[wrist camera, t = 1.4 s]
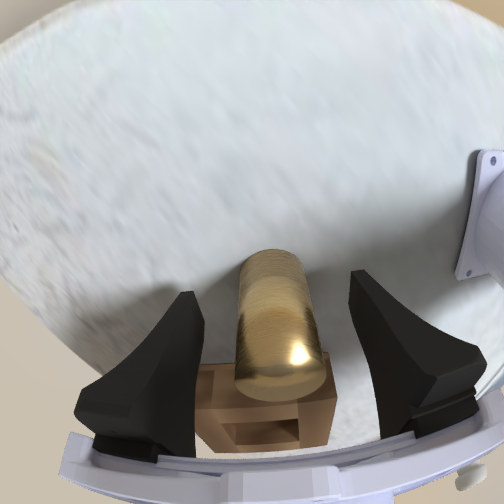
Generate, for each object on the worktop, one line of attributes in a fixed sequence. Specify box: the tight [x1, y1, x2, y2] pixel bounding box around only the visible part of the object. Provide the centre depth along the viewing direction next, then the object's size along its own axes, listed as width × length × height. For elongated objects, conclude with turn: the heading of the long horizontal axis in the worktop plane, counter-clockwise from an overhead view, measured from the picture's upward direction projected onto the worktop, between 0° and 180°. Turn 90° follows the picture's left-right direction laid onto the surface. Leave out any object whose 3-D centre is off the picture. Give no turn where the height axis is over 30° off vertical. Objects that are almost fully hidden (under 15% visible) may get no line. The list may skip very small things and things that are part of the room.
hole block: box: [195, 353, 337, 453], centre depth 19 cm, size 10×10×4 cm
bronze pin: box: [235, 249, 326, 402], centre depth 12 cm, size 3×3×6 cm
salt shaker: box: [455, 459, 487, 491], centre depth 21 cm, size 6×6×13 cm
